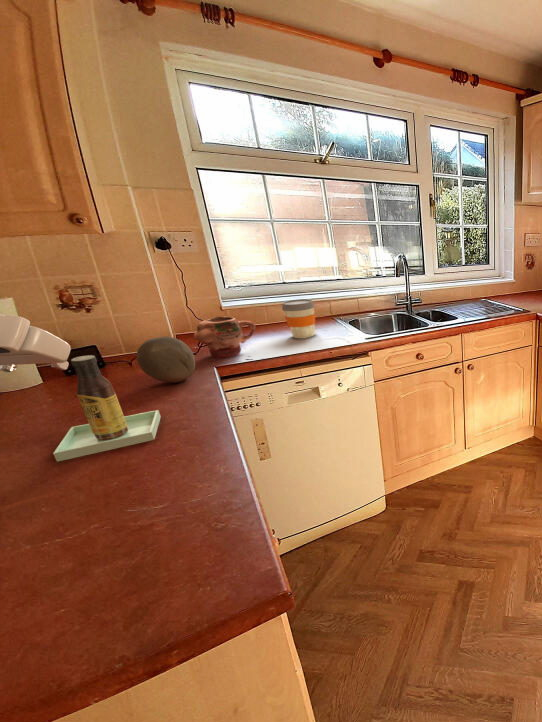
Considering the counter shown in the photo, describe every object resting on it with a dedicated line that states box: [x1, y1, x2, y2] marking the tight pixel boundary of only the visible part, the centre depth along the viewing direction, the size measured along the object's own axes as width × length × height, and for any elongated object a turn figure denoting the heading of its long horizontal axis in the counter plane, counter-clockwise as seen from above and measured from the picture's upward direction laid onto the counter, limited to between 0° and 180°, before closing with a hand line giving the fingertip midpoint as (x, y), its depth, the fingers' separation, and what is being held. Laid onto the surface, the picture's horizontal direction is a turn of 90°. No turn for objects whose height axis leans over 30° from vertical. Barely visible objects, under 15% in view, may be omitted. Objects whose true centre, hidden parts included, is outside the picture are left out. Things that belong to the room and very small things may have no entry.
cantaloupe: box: [136, 336, 196, 384], centre depth 134 cm, size 14×14×15 cm
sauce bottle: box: [70, 354, 128, 440], centre depth 99 cm, size 7×6×20 cm
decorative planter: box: [193, 316, 256, 358], centre depth 162 cm, size 20×12×14 cm, turn 133°
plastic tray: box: [52, 409, 162, 463], centre depth 102 cm, size 17×15×2 cm
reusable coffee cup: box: [281, 298, 316, 339], centre depth 186 cm, size 13×13×15 cm
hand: (38, 367), depth 86 cm, fingers open, 8 cm apart
